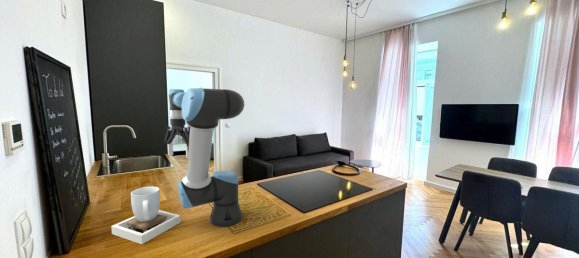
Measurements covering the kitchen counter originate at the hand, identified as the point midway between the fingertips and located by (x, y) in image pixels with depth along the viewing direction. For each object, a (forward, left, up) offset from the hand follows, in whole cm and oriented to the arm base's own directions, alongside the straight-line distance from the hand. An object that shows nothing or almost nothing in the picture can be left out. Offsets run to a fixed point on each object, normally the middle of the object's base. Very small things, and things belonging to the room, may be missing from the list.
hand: (179, 156), depth 130 cm
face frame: (-8, +26, -27) cm, 38 cm away
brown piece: (-8, +26, -27) cm, 38 cm away
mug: (-8, +26, -23) cm, 36 cm away
